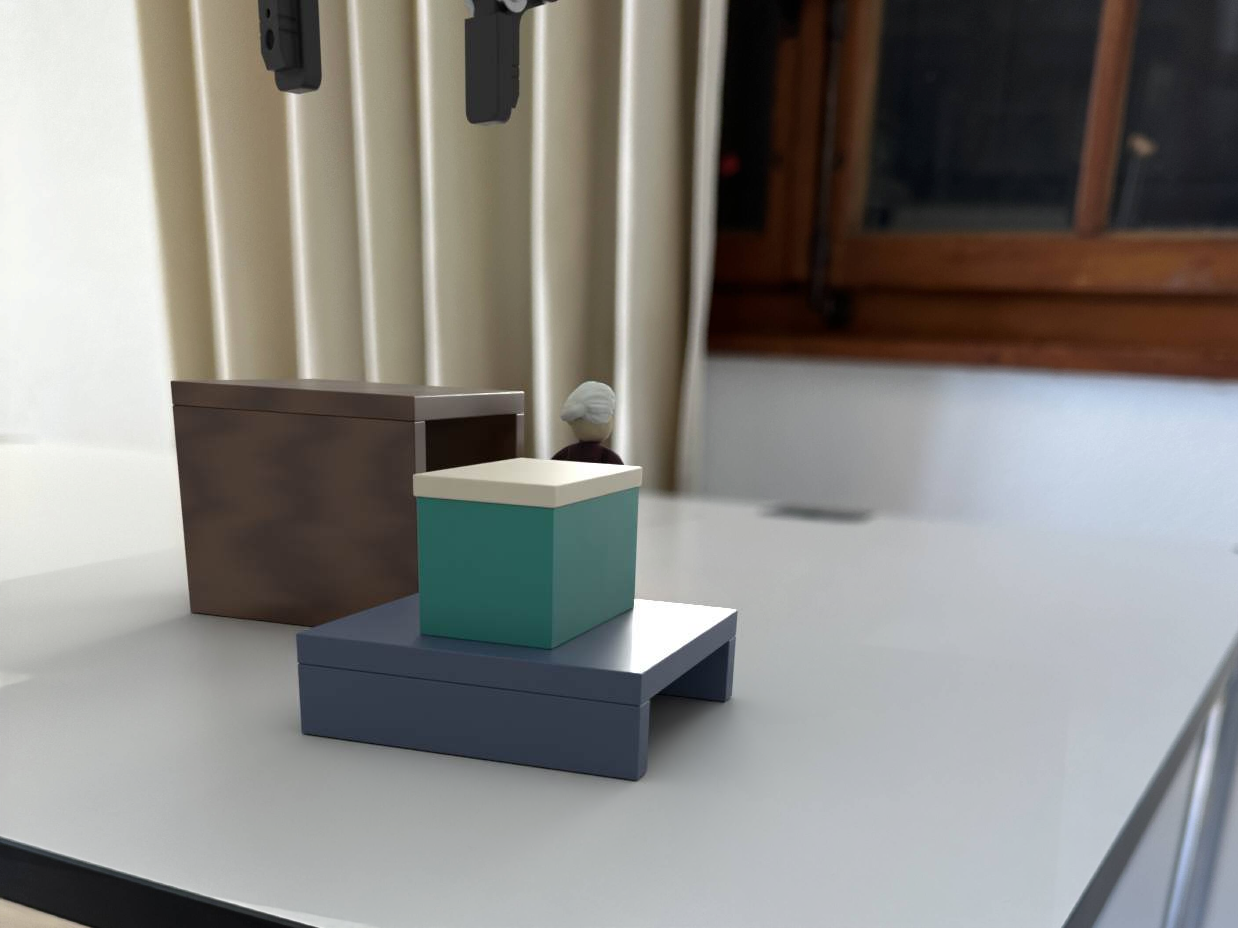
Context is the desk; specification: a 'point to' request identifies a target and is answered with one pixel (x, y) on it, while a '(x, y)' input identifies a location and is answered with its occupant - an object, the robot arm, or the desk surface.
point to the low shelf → (512, 685)
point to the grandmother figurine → (589, 424)
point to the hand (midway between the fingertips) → (398, 108)
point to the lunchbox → (525, 549)
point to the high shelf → (319, 487)
